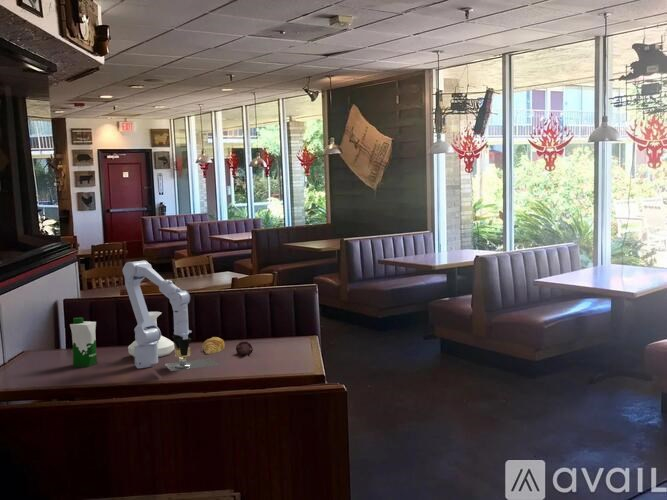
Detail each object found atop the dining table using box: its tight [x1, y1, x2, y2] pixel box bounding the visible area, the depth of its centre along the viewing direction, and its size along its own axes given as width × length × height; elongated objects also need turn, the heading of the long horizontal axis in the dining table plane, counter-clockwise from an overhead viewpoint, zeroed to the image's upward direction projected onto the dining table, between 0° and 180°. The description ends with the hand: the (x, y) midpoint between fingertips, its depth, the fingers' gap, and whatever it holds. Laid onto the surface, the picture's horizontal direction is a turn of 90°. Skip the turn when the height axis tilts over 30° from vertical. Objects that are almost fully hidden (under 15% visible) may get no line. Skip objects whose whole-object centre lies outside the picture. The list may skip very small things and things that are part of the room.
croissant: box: [201, 336, 226, 355], centre depth 308 cm, size 21×10×8 cm, turn 177°
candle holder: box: [127, 311, 176, 358], centre depth 302 cm, size 20×20×19 cm
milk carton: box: [69, 316, 98, 368], centre depth 289 cm, size 9×9×20 cm
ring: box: [174, 346, 191, 358], centre depth 277 cm, size 6×6×3 cm
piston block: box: [164, 357, 221, 372], centre depth 280 cm, size 20×14×5 cm
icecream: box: [235, 340, 254, 357], centre depth 297 cm, size 7×7×15 cm
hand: (182, 354), depth 277 cm, fingers closed on ring, 6 cm apart
